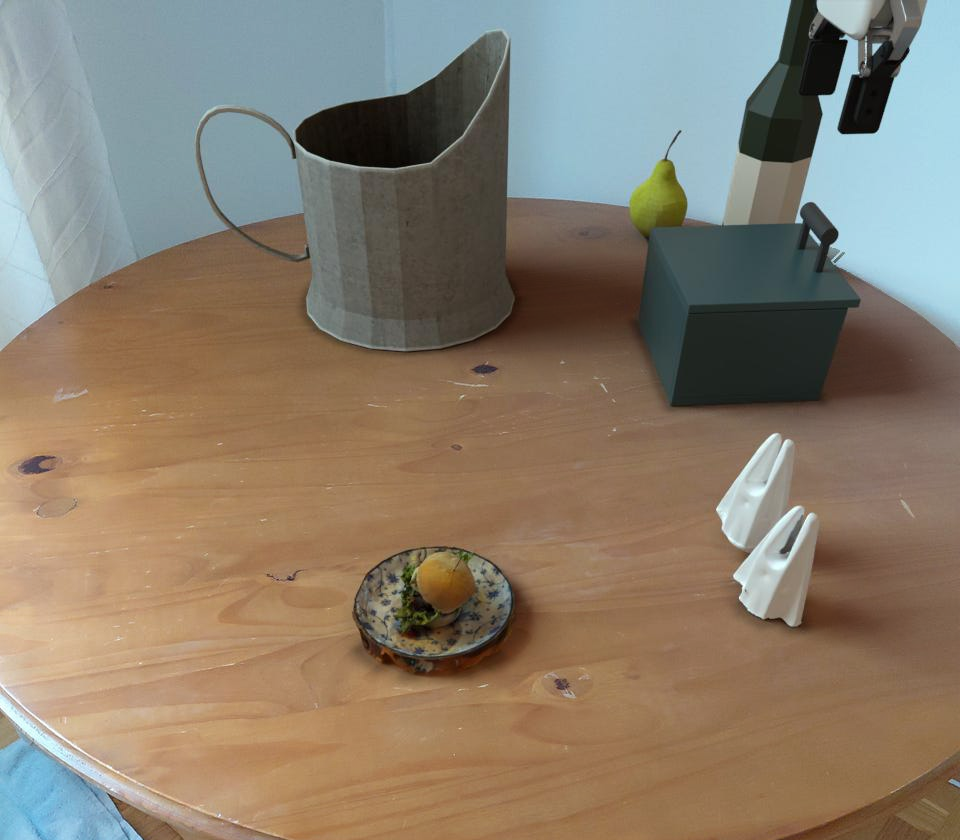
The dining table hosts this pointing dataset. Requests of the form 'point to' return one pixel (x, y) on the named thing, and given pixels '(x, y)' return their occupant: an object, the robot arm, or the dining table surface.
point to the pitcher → (405, 206)
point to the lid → (755, 265)
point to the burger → (434, 608)
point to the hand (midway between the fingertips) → (835, 112)
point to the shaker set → (770, 534)
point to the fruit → (659, 199)
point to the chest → (734, 347)
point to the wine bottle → (776, 135)
